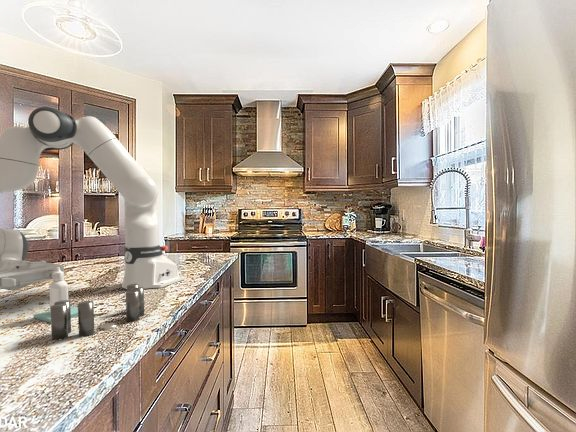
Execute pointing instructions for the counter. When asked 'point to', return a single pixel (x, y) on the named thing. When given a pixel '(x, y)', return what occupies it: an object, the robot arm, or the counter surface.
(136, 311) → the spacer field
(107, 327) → the grey flat disc
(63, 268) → the robot arm
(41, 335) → the counter surface
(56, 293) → the eye dropper bottle
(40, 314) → the pad
